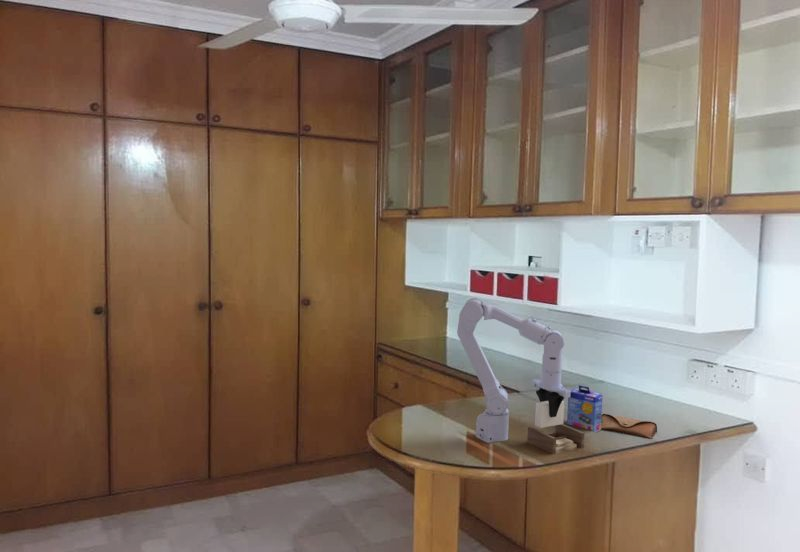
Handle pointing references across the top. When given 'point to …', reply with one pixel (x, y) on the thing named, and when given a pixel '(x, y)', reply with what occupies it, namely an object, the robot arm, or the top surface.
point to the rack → (555, 438)
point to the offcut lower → (566, 447)
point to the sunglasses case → (628, 426)
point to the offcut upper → (563, 442)
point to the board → (543, 415)
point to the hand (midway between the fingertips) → (549, 415)
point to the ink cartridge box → (585, 409)
